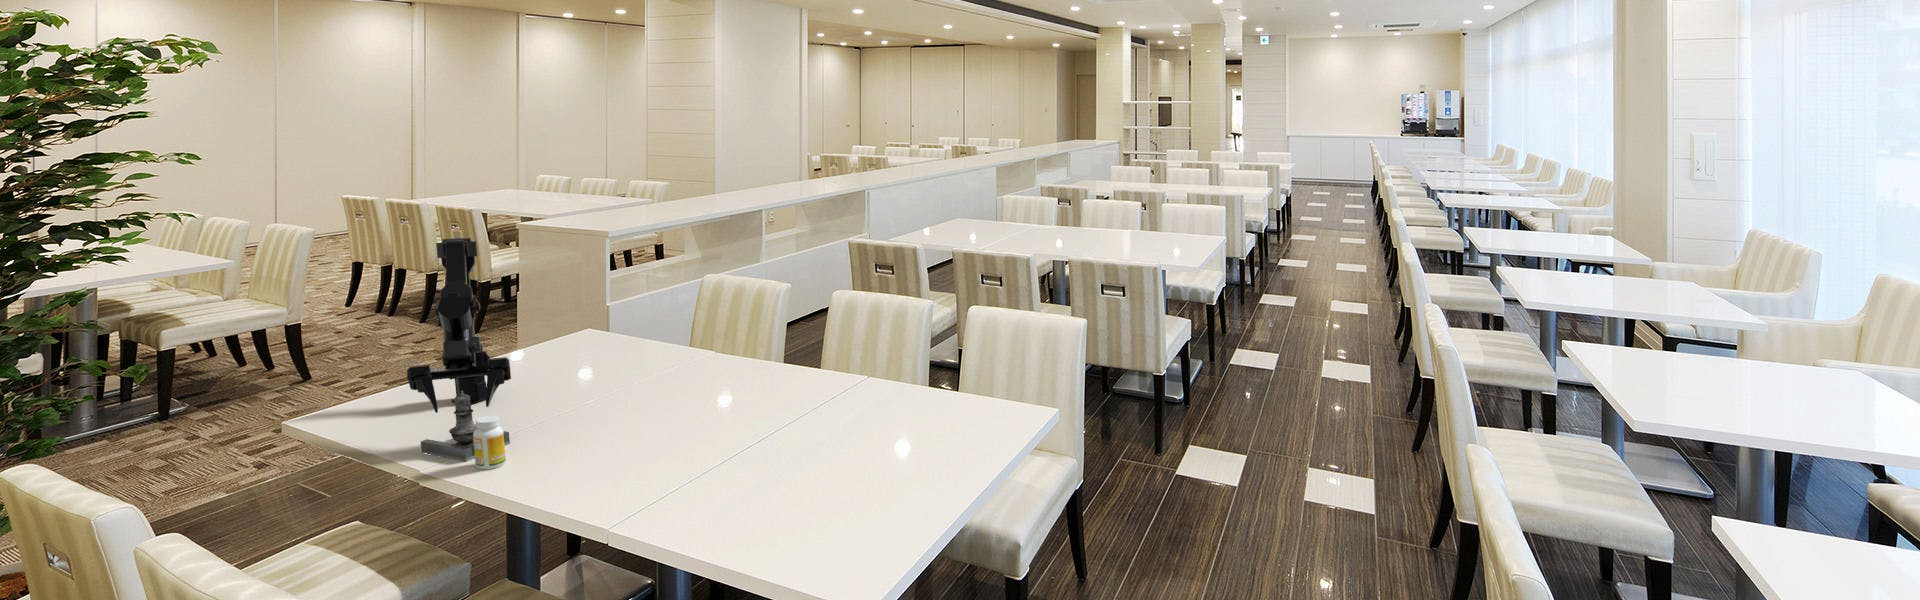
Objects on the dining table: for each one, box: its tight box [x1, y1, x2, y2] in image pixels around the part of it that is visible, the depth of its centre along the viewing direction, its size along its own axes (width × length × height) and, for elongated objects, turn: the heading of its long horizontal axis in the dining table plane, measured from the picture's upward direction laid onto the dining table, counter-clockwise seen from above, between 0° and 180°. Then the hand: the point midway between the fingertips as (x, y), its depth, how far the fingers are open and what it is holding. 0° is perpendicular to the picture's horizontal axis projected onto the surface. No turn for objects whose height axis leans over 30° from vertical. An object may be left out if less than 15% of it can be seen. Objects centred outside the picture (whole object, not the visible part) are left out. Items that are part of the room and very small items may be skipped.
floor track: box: [420, 430, 511, 462], centre depth 189 cm, size 12×11×3 cm
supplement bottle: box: [473, 415, 507, 470], centre depth 180 cm, size 5×5×10 cm
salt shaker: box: [448, 390, 478, 449], centre depth 189 cm, size 6×6×12 cm
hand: (462, 408), depth 187 cm, fingers open, 9 cm apart
